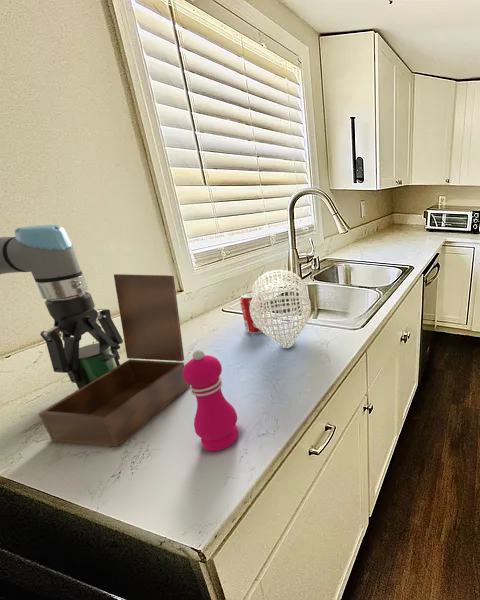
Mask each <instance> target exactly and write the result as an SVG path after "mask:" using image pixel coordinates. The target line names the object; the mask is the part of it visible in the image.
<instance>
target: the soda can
mask: <svg viewBox="0 0 480 600" xmlns="http://www.w3.org/2000/svg"><path fill="white" fill-rule="evenodd" d="M258 296H259V295H258ZM252 298H253V297H252V291H246V292H244V293H241V295H240V300H239V303H240V307H241V313H242V317H243V321H244V327H245V331H246V332H247V333H248V334H250V335H260V334H262V333H263V332H262V331H261V330H260V329H259V328H257V326H256V325H255V324H254V322H253V320H252V318H251V315H250V302H251V300H252ZM263 299H264V300H265V298H264V296H263ZM259 300H260V301H261V298H259ZM260 304H262V303H260ZM264 305H266V303H265V302H264ZM257 307H258V306H257ZM260 307H261V308H262V306H261V305H260ZM257 309H258V308H257ZM265 309H266V307H265ZM260 310H261V309H260ZM253 311H254V310H253ZM260 312H261V311H260ZM265 312H266V314H267V311H265ZM261 313H262V312H261ZM262 314H263V313H262ZM254 316H255V315H254ZM261 316H262V315H261ZM264 316H265V315H264ZM262 317H263V316H262ZM266 317H267V315H266ZM256 321H257V320H256ZM260 322H261V321H260ZM264 322H265V321H264ZM265 323H266V322H265ZM263 324H264V323H263ZM266 328H267V327H266ZM267 329H268V328H267ZM263 334H264V333H263Z"/></svg>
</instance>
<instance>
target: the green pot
mask: <svg viewBox="0 0 480 600" xmlns="http://www.w3.org/2000/svg"><path fill="white" fill-rule="evenodd" d="M114 357H116V355H115V353H112V351H111V345H110V344H109V343H99V342H97V343H96V342H95V343H91V344H86V345H84V346H81V347H79V367H82V368H84V371H85V373H86V375H87V378H88V380H89V382H92V381H94V380H96V379H97V378H99V377H101V376H102V375H104V374H106V373H107V372H109V371H111V370H112V369H114V368H116V367H117V365H116V362H115V359H114Z"/></svg>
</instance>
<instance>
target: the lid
mask: <svg viewBox="0 0 480 600" xmlns="http://www.w3.org/2000/svg"><path fill="white" fill-rule="evenodd" d="M113 279H114V287H115V291H116V299H117V303H118V310H119V317H120V322H121V329H122V334H123V335H122V336H123V343H124V347H125V353H126V358H127V359H130V360H149V361H168V362H183V361H185V353H184V345H183V339H182V329H181V322H180V313H179V307H178V300H177V299H178V298H177V289H176V283H175V282H176V281H175V276H174V275H173V274H172V275H170V274H168V275H167V274H129V273H127V274H126V273H125V274H124V273H120V274H119V273H115V274H113Z"/></svg>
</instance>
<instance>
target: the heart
mask: <svg viewBox="0 0 480 600" xmlns="http://www.w3.org/2000/svg"><path fill="white" fill-rule="evenodd" d="M281 288H282V289H281ZM285 288H286V289H285ZM269 290H270V291H269ZM265 291H266V292H265ZM251 292H252V297H253V298H252V300H251V302H250V315H251V318H252V320H253V322H254V324H255V325H256V326H257V328H259V329H260V330H261V331H262V332H263V334H264V335H266V336H268V337H269V338H270V339H272V340H273V341H274V342H275V343H276V344H277V345H279V346H280V347H281V348H283V349H289V348H291V347H293V346H294V344H295V343H296V340H298V337H299V336H300V334H301V332H302V331H303V330H304V328H305V326H306V325H307V323H308V321H309V319H310V317H311V312H312V304H311V303H312V302H311V300H310V297H309V295H308V293H307V287H306V285H305V282H304V280H303V279H302V278H301V277H300V276H299V275H298V274H297V273H295V272H293V271H291V270H287V269H272V270H269V271H266V272H265V273H263V274H261V275H260V276H259V277H258V278H257V279H256V280H255V281H254V283H253V286H252V288H251ZM282 293H283V295H282ZM286 293H287V295H286ZM297 293H298V295H297ZM258 295H259V296H258ZM270 295H271V297H270ZM263 297H264V299H263ZM259 298H261V301H260V300H259ZM283 300H284V301H283ZM287 300H288V301H287ZM275 301H276V302H275ZM264 302H265V305H264ZM271 302H272V303H271ZM260 303H262V304H260ZM287 304H288V305H287ZM260 305H261V306H262V308H261V307H260ZM257 306H258V307H257ZM257 308H258V309H257ZM265 308H266V309H265ZM260 309H261V310H260ZM253 310H254V311H253ZM284 310H285V312H284ZM288 310H289V311H288ZM260 311H261V312H262V313H263V314H262V313H261V312H260ZM265 311H266V312H265ZM266 313H267V314H266ZM254 315H255V316H254ZM261 315H262V316H263V317H262V316H261ZM264 315H265V316H264ZM266 315H267V317H266ZM289 319H290V321H289ZM256 320H257V321H256ZM285 320H286V321H285ZM260 321H261V322H260ZM264 321H265V322H266V323H265V322H264ZM275 321H276V322H275ZM263 323H264V324H263ZM286 325H287V326H286ZM266 327H267V328H268V329H267V328H266Z"/></svg>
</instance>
